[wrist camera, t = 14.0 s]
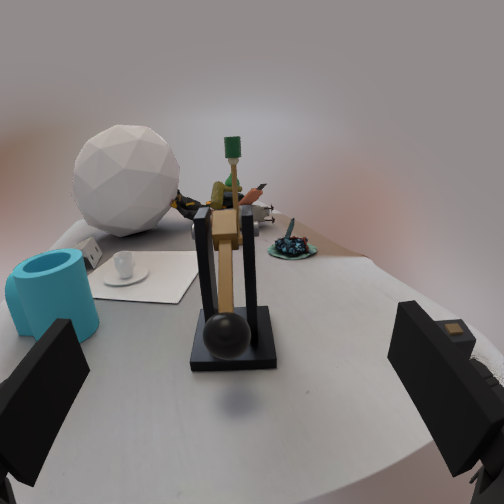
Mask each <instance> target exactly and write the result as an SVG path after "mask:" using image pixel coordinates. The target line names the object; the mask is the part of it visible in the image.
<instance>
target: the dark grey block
mask: <svg viewBox="0 0 504 504" xmlns="http://www.w3.org/2000/svg"><path fill="white" fill-rule="evenodd" d="M434 322H435V323H436V324H437V325H438V326H439V327H440V328H441V329H442V331H443V332H444V333H445V334H446V335H447V336H448V337H449V338H450V340H451V341H452V342H453V343H454V344H455V345H456V346H457V347H458V349H459V350H460V351H461V352H462V353H463V354H464V356H465V357H466V358H467V359H468V360H469V359H470V356H471V354H472V351H473V348H474V345H475V343H476V338H475V337H474V336H473V334H472V333H471V331H470V330H469V329H468V327H467V326H466V324H465V323H464V322H463V320H462V319H457V320H443V321H434Z"/></svg>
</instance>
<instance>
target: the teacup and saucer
mask: <svg viewBox="0 0 504 504" xmlns="http://www.w3.org/2000/svg"><path fill="white" fill-rule="evenodd" d="M197 273H198V262H197V253H196V251H120V252H117V253H115V254H114V255H113V257H112V258H110V259H109V260H108V261H106V262H105V263H104V264H102V265H101V266H100V267H98V268H97V269H96V270H95V271H93V272H92V273H91V274H89V275H88V276H87V277H88V281H89V285H90V289H91V293H92V297H93V298H104V299H117V300H131V301H147V302H164V303H178V302H179V301H180V299H181V297H182V296H183V294H184V293H185V291H186V290H187V288H188V287H189V285H190V284H191V282H192V281H193V279H194V278H195V276H196V274H197Z"/></svg>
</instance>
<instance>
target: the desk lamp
mask: <svg viewBox="0 0 504 504" xmlns="http://www.w3.org/2000/svg"><path fill="white" fill-rule="evenodd" d="M224 140H225V141H224V143H225V158H228V162H229V164H230V165H231V175H232V193H233V210H237V221H238V244H239V245H242V244H243V242H242V234H240V226H239V208H238V189H237V170H236V164H237V163H238V161H239V159H238V158H239V157H241V143H240V137H239V136H237V137H225V138H224Z"/></svg>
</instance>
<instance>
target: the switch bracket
mask: <svg viewBox="0 0 504 504" xmlns="http://www.w3.org/2000/svg"><path fill="white" fill-rule="evenodd" d="M193 223H194V225H192V238H193V240H195V243H196V253H197V262H198V271H199V279H200V288H201V296H202V304H203V309H201V310H200V314H199V319H198V324H197V328H196V333H195V338H194V343H193V348H192V353H191V358H190V366H191V371H225V370H250V369H267V368H276V367H277V358H276V352H275V346H274V340H273V334H272V327H271V321H270V315H269V309H268V306H257V292H256V268H255V244H254V237H256V236H259V222H258V221H253V211H252V205H241V223H242V242H243V260H244V277H245V295H246V307H235V308H234V313H236V314H238V315H240V316H241V317H243V318H244V319H245V321H246V322H247V323H248V325H249V327H250V331H251V341H250V345H249V347H248V348H247V350H246V351H245V352H244V353H243V354H242V355H241V356H239V357H237V358H234V359H230V360H224V359H220V358H217V357H215V356H213V355H212V354H211V353H210V352H209V351H208V350H207V349H206V347H205V345H204V343H203V338H202V334H203V328H204V326H205V324H206V322H207V321H208V320H209V319H210V318H211V317H212V316H213V315H215V314H217V313H219V306H218V296H217V286H216V275H215V265H214V254H213V242H212V230H211V218H210V208H209V207H204V208H199V210H198V212H197V213H196V215H195V217H194V218H193Z"/></svg>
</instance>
